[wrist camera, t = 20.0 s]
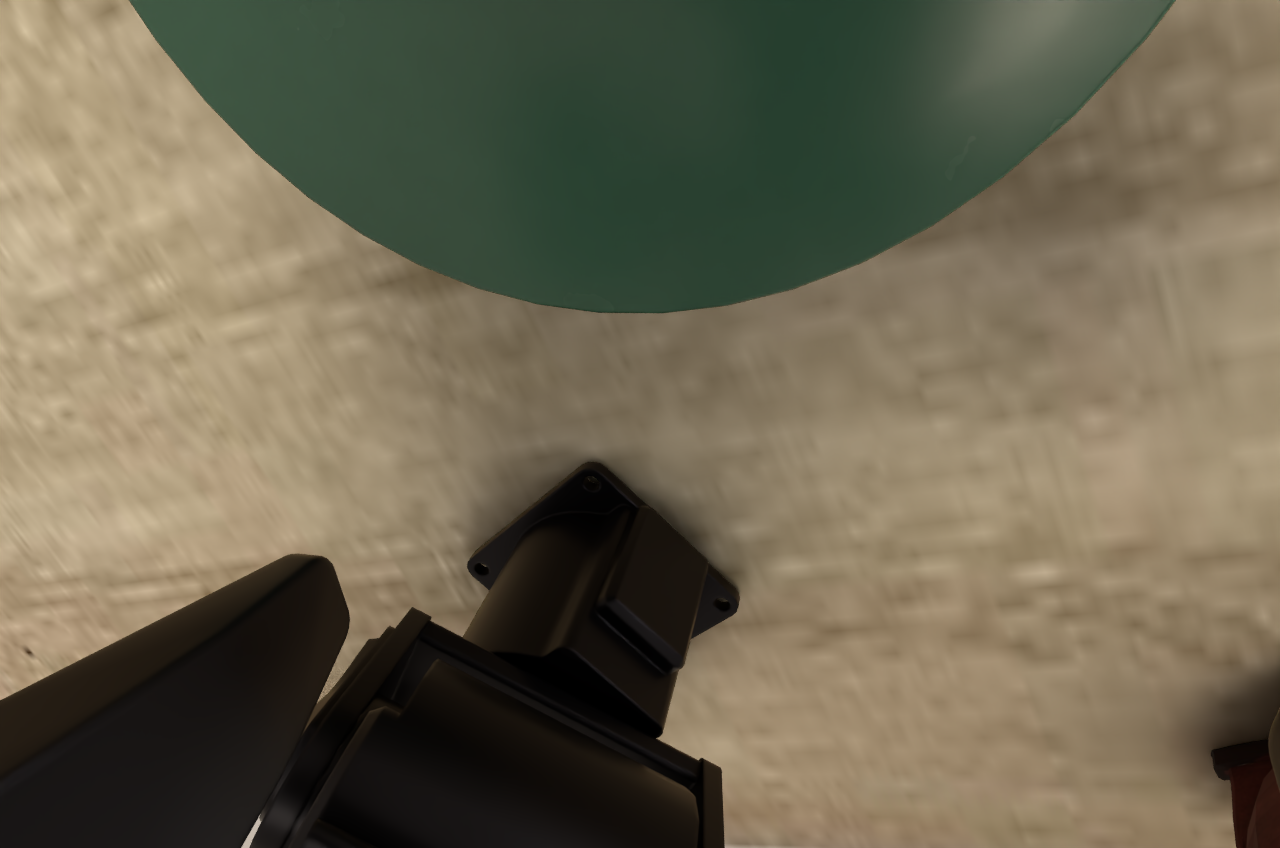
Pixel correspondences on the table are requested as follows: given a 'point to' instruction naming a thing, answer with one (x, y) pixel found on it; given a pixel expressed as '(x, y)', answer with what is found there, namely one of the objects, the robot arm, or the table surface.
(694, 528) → the table surface
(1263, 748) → the mate gourd
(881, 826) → the table surface
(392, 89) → the lid
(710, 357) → the table surface
